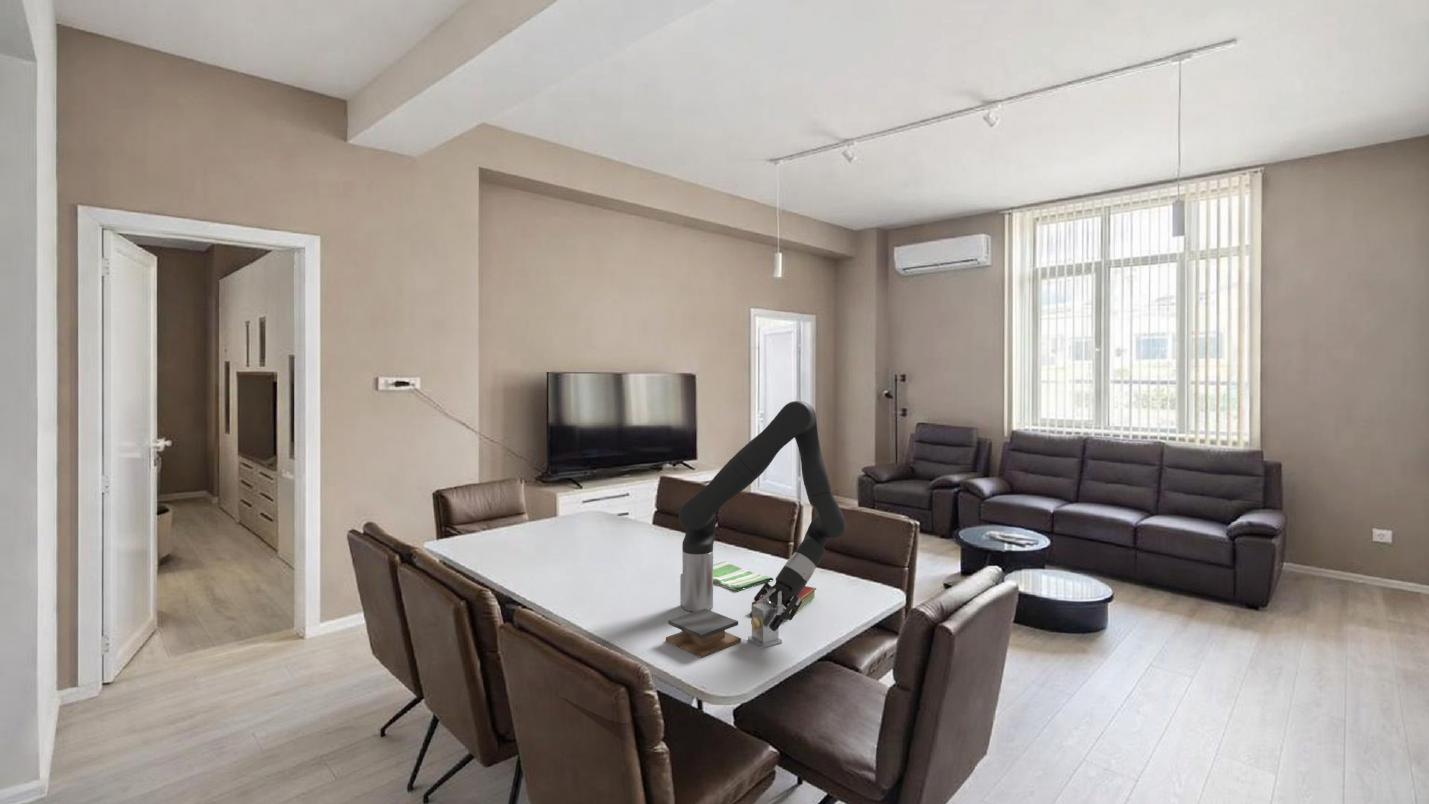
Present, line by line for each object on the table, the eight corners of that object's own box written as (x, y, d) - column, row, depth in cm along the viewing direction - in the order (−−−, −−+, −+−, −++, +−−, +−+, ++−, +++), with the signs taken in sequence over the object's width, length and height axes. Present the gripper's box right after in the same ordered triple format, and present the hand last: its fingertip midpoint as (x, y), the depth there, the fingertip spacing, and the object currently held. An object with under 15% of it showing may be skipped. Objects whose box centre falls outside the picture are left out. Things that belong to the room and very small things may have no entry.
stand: (665, 640, 174) (665, 620, 174) (704, 626, 184) (704, 607, 183) (701, 657, 164) (701, 635, 164) (740, 641, 173) (740, 621, 173)
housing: (747, 640, 175) (747, 605, 174) (767, 634, 178) (767, 600, 178) (761, 648, 169) (761, 612, 169) (782, 642, 173) (782, 607, 172)
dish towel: (736, 594, 213) (736, 585, 212) (689, 577, 230) (689, 569, 230) (773, 582, 225) (773, 574, 225) (726, 567, 242) (726, 559, 242)
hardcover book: (751, 614, 194) (751, 600, 194) (781, 593, 213) (781, 580, 212) (789, 622, 188) (789, 607, 188) (816, 600, 207) (816, 587, 206)
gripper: (772, 559, 183) (738, 607, 178) (805, 572, 171) (770, 624, 165) (787, 575, 186) (753, 623, 181) (821, 588, 174) (786, 641, 169)
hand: (761, 624), depth 173 cm, fingers open, 8 cm apart
